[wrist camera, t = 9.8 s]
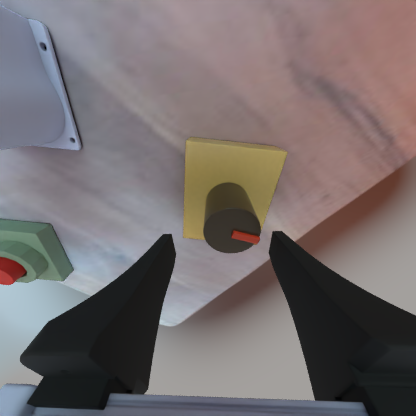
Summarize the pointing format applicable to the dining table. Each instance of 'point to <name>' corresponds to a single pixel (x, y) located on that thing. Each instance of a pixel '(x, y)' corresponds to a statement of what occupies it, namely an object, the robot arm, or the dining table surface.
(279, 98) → the dining table surface
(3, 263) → the button
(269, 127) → the dining table surface
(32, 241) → the green stepped block
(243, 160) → the plate
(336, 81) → the dining table surface
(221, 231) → the dark brown rotary knob
